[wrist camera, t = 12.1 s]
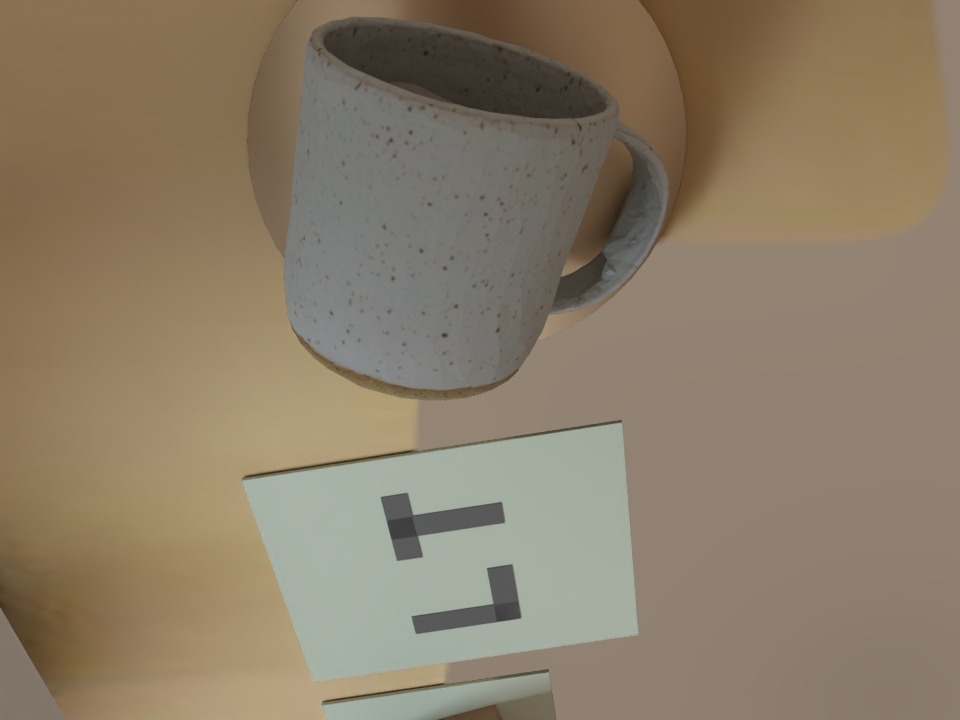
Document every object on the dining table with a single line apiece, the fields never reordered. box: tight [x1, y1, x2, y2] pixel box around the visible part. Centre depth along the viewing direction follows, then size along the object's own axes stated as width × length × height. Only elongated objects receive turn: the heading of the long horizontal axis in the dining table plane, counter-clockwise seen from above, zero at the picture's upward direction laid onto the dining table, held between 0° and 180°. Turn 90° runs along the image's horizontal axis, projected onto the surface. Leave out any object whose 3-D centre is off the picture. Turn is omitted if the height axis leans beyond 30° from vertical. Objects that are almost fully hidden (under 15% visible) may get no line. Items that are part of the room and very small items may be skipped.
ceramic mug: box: [284, 17, 670, 400], centre depth 23 cm, size 11×8×8 cm
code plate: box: [242, 420, 639, 682], centre depth 35 cm, size 14×11×1 cm
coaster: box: [247, 0, 686, 341], centre depth 27 cm, size 13×13×1 cm
